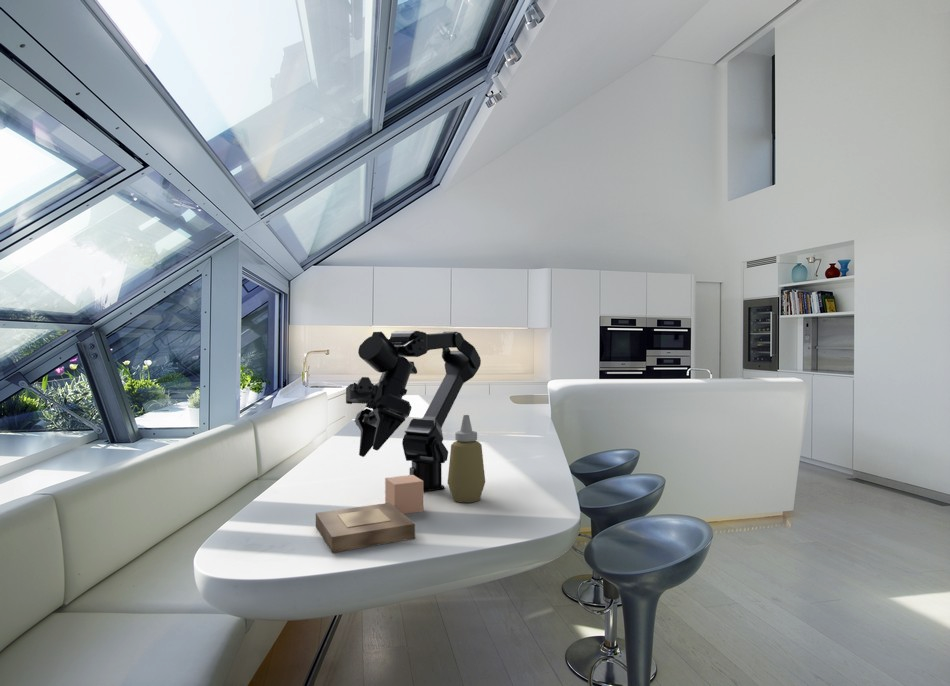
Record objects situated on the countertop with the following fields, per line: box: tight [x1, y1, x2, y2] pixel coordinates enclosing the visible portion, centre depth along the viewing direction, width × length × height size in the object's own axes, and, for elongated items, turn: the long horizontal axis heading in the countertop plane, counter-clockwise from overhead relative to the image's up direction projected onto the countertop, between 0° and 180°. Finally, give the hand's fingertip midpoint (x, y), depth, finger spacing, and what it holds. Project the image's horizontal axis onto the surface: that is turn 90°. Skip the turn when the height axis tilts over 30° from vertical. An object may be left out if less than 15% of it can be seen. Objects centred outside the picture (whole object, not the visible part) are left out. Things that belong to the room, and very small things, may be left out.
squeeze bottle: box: [447, 414, 486, 503], centre depth 117 cm, size 8×8×18 cm
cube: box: [384, 474, 424, 515], centre depth 110 cm, size 6×6×6 cm
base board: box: [315, 503, 416, 554], centre depth 96 cm, size 14×14×3 cm
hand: (368, 453), depth 108 cm, fingers open, 9 cm apart
